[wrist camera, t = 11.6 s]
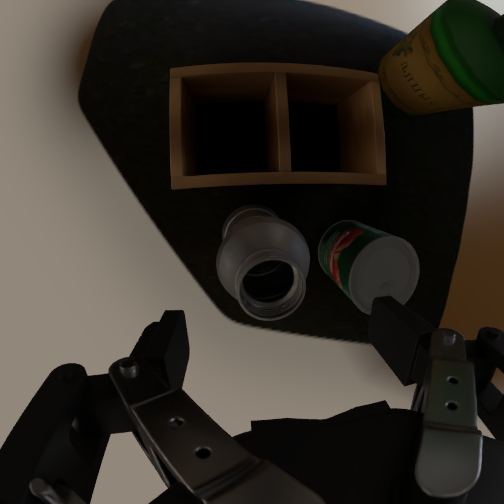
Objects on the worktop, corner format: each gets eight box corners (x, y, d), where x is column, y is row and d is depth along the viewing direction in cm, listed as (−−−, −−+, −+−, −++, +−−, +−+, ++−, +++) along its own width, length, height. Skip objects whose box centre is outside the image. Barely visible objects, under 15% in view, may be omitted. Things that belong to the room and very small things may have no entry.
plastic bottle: (213, 218, 34) (183, 265, 15) (265, 192, 34) (305, 205, 14) (238, 265, 35) (241, 361, 16) (288, 241, 35) (348, 311, 16)
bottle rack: (187, 98, 30) (170, 68, 21) (343, 98, 31) (378, 73, 22) (189, 187, 33) (171, 189, 23) (347, 183, 34) (386, 185, 24)
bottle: (346, 62, 30) (487, -58, 3) (404, 51, 29) (542, -24, 2) (380, 134, 32) (575, 98, 5) (434, 117, 32) (598, 91, 5)
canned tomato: (314, 223, 35) (347, 241, 24) (372, 216, 35) (420, 231, 24) (319, 285, 37) (349, 323, 26) (374, 275, 37) (417, 306, 26)
